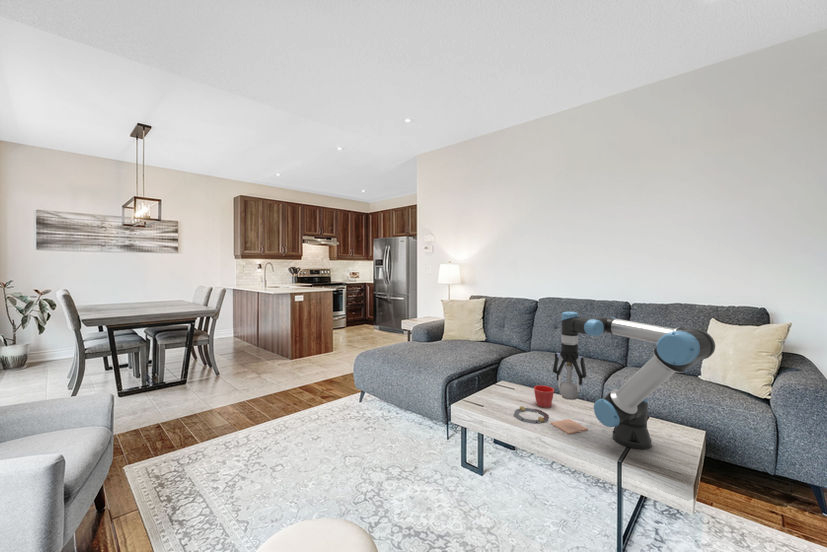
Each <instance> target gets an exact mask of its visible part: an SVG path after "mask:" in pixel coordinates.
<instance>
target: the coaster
mask: <svg viewBox="0 0 827 552" xmlns="http://www.w3.org/2000/svg"><path fill="white" fill-rule="evenodd" d="M550 425H551V426H553V427H554V428H556V429H558V430H560V431H562V432H563V433H566V434H567V435H572V434H578V433H582V432H586V431H589V428H587V427H586V426H584V425H582V424H581V423H577V422H576V421H574V420H572V419H570V418H567V419H561V420H556V421H550Z"/></svg>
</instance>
